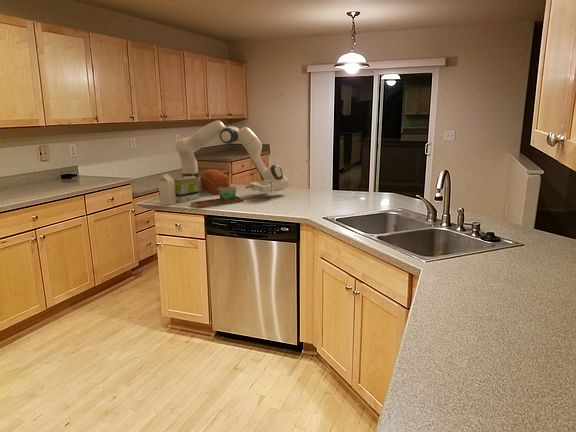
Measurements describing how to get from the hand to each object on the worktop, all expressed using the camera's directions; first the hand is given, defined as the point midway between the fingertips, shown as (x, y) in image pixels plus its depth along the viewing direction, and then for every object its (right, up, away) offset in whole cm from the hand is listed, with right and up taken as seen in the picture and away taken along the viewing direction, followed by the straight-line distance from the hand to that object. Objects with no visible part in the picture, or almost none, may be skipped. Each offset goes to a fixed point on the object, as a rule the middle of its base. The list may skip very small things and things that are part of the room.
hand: (249, 188), depth 282 cm
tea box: (-42, -8, +3) cm, 43 cm away
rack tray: (-19, -10, -10) cm, 24 cm away
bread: (-28, 0, +33) cm, 44 cm away
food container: (-13, -9, -6) cm, 17 cm away
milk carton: (-51, -11, -9) cm, 53 cm away
